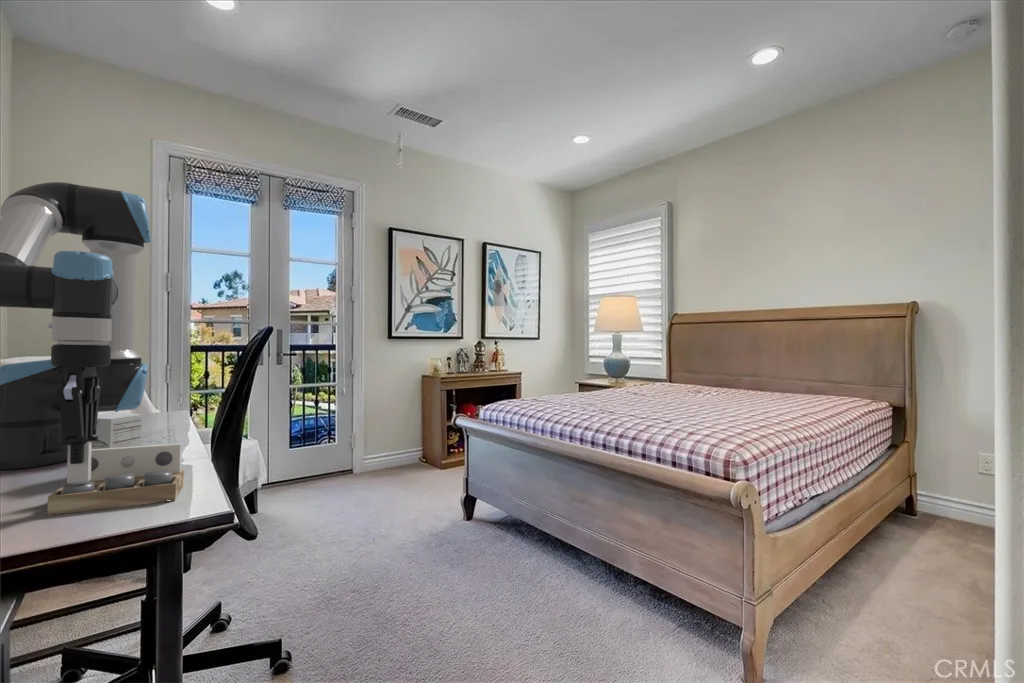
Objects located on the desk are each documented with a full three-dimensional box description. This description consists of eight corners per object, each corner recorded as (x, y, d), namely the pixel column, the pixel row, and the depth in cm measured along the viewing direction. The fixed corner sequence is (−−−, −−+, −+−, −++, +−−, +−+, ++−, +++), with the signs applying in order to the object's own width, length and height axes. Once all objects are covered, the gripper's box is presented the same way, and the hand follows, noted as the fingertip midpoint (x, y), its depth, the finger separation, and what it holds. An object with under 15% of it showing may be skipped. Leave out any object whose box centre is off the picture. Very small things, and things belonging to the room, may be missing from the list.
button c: (147, 485, 86) (147, 471, 86) (173, 482, 88) (173, 469, 88) (141, 491, 82) (142, 477, 82) (169, 488, 84) (170, 474, 84)
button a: (67, 497, 81) (67, 482, 81) (97, 494, 83) (97, 480, 83) (58, 504, 77) (58, 489, 77) (89, 501, 79) (90, 486, 79)
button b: (108, 489, 83) (108, 474, 83) (136, 486, 85) (137, 472, 85) (101, 495, 80) (101, 481, 80) (131, 492, 82) (131, 478, 82)
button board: (70, 496, 85) (70, 480, 85) (184, 485, 93) (184, 469, 93) (47, 515, 76) (47, 496, 76) (175, 500, 84) (175, 484, 84)
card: (72, 481, 84) (73, 450, 84) (180, 471, 91) (181, 443, 91) (69, 483, 83) (70, 452, 83) (179, 473, 90) (180, 444, 90)
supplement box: (77, 479, 95) (78, 417, 95) (113, 469, 102) (114, 411, 102) (108, 481, 94) (110, 418, 94) (142, 471, 101) (143, 413, 101)
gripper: (67, 342, 84) (64, 473, 84) (35, 343, 72) (32, 495, 73) (120, 343, 87) (117, 468, 88) (98, 344, 76) (95, 489, 76)
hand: (79, 480), depth 80 cm, fingers closed
